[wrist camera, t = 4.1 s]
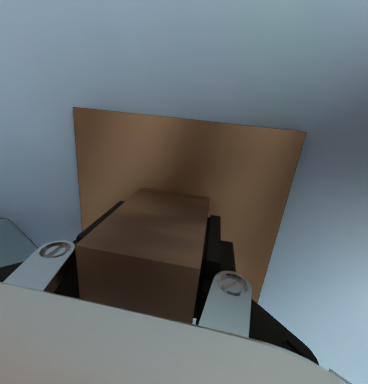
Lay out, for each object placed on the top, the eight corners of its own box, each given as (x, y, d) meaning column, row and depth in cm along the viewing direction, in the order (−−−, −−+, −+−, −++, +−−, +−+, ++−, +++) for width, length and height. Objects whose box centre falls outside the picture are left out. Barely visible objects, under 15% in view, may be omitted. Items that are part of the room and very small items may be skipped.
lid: (300, 131, 11) (418, 148, 4) (251, 307, 15) (274, 450, 8) (81, 107, 12) (-71, 95, 6) (92, 274, 16) (10, 375, 10)
